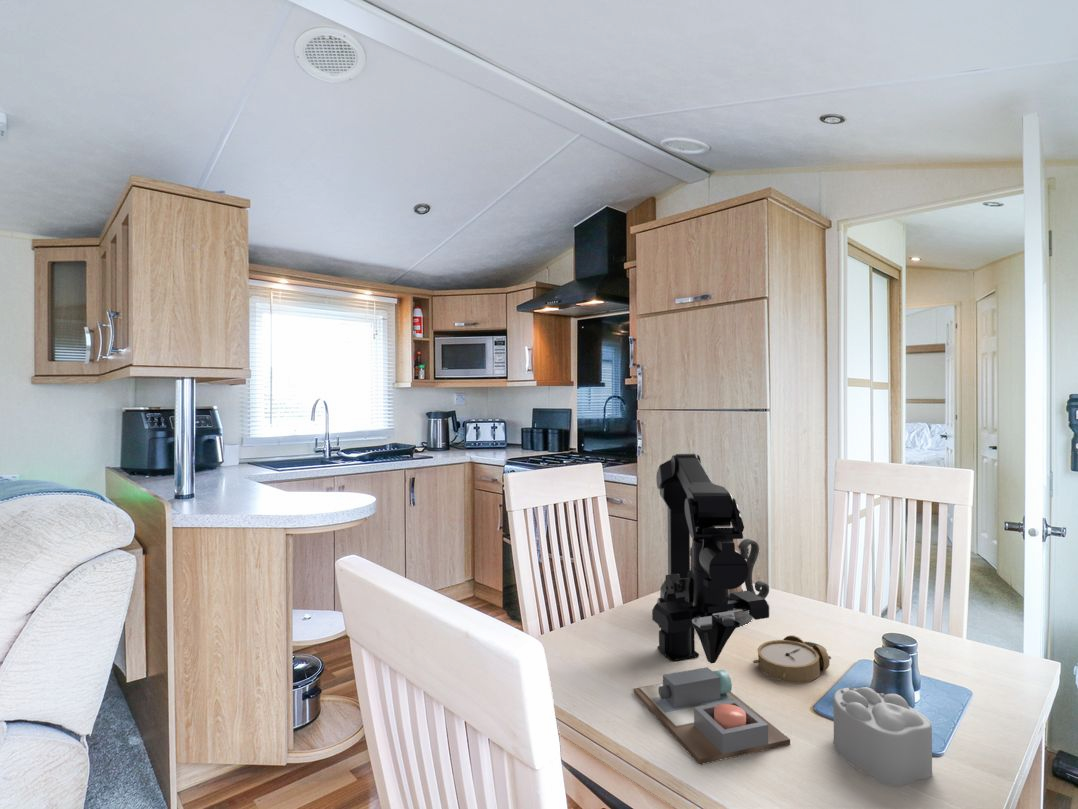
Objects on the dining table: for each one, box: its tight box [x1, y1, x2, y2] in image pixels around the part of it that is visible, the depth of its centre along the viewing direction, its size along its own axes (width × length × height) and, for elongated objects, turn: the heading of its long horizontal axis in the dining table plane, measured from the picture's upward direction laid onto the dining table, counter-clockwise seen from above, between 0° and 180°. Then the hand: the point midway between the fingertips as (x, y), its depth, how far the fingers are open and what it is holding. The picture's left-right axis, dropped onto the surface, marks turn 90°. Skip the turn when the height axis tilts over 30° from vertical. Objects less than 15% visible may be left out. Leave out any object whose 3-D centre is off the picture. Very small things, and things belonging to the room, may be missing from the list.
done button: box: [714, 704, 746, 729], centre depth 93 cm, size 5×5×3 cm
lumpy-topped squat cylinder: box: [832, 686, 933, 787], centre depth 88 cm, size 10×13×9 cm
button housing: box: [694, 699, 768, 754], centre depth 93 cm, size 8×8×3 cm
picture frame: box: [633, 682, 791, 765], centre depth 100 cm, size 16×22×1 cm
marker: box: [658, 667, 733, 709], centre depth 104 cm, size 13×4×4 cm, turn 107°
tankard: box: [690, 538, 770, 627], centre depth 146 cm, size 24×17×20 cm
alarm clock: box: [752, 634, 832, 684], centre depth 117 cm, size 11×5×15 cm
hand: (711, 662), depth 96 cm, fingers closed
